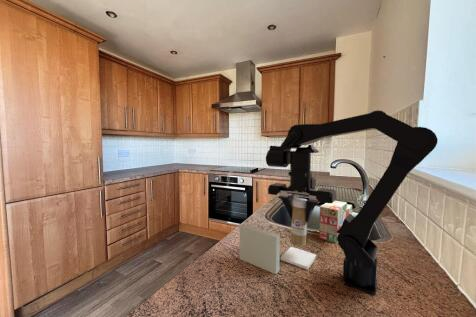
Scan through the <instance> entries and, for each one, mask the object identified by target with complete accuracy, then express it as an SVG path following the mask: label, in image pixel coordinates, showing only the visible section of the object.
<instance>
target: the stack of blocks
mask: <svg viewBox="0 0 476 317" xmlns="http://www.w3.org/2000/svg"><path fill="white" fill-rule="evenodd" d="M349 214H351V215H353V205H352V204H348V202H346V201H341V200H335V201H334V202H333V203H324V204H321V205H320V206H319V230H318V231H319V232H318V238H319V239H320V240H325V241H328V242H330V243H334V244H338V241H337V237H338V234H339V233H337V232H336V231H337V230H338V229H339V228H340V227H341V226H342V224H343V221H344V219H345V218H346V217H347V216H348V215H349Z"/></svg>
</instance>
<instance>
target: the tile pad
mask: <svg viewBox="0 0 476 317" xmlns="http://www.w3.org/2000/svg"><path fill="white" fill-rule="evenodd" d="M315 259H317V254H315V253H312V252H310V251H306V250H303V249H299V248H297V247H295V246H290V247H289V248H288V249H287V250H286V251H285V252H284V253H283V254H282V255H281V256H280V261H283V262H286V263H288V264H289V265H290V264H291V265H294V266H296V267H299V268H301V269H304V270H307V271H308V270H309V268H310V267H311V266H312V264H313V262H314V261H315Z"/></svg>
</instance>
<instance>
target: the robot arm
mask: <svg viewBox="0 0 476 317" xmlns="http://www.w3.org/2000/svg"><path fill="white" fill-rule="evenodd" d="M371 130H376V131H378V132H380V133H381V134H384V135H385V136H387V137H389V138H391V139H392V140H393V141H395V142H397V143H396V144H395V147H394V150H393V153H392V155H391V159H390V162H389V165H388V166H387V168H386V169H385V170H384V173H383V174H382V176H381V177H380V179H379V181H378V182H377V183H376V185H375V187H374V189H373V190H372V192H371V193H370V194H369V196H368V198H367V199H366V201H365V203H364V204H363V206H361V208H360V210H359V211H358V213H357V214H356V215H355V216H354V215H353V214H352V215H351V214H349V215H348V216H347V217H346V218H345V219H344V221H343V224H342V226H341V227H340V228H339V229H338V230H337V231H336V232H337V233H339V234H338V237H337V241H338V243H337V244H338V246H339V248H340V249H341V250H342V251H343V254H344V256H345V257H344V258H343V262H342V264H343V268H342V276H343V278H344V280H343V283H344V284H345V285H346V286H350V287H353V288H355V289H358V290H361V291H364V292H367V293H369V294H372V295H377V288H378V287H377V286H378V278H377V274H378V273H377V272H378V259H377V258H376V256H377V253H378V249H379V247H378V246H377V244H375V242H374V241H373V240H372V239H371V238H370V235H371V232H372V229H373V227H374V225H375V223H376V221H377V219H378V218H379V217H380V215H381V214H382V212H383V211H384V209H385V208H386V206H387V205H388V203H390V200H391V199H392V197H394V195H395V193H396V192H397V190H398V188H399V187H400V186H401V185H402V183H403V182H404V180H405V178H406V177H407V176H408V175H409V173H410V172H411V171H413V169H415V167H416V166H418V165H419V164H420V163H421V162H422V161H423V160H424V159H426V157H427V156H429V155H430V154H431V152H432V151H433V150H434V149H435V148H436V147H437V145H438V137H437V135H436V133H435V132H434V131H433V130H431V129H430V128H427V127H424V126H411V125H410V124H408V123H405V122H403V121H402V120H399V119H397V118H396V117H393V116H391V115H388V114H387V113H386V112H385V111H383V110H373V111H371V112H369V113H363V114H359V115H356V116H351V117H345V118H342V119H337V120H333V121H328V122H324V123H316V124H315V123H308V124H307V123H305V124H304V123H303V124H301V123H300V124H294V125H292V126H291V127H290V128H289V129H288V131H287V135H286V137H285V139H284V140H283V142H281V144H280V145H279V146H278V145H269V150H268V151H267V152H266V156H265V162H266V165H267V166H268V167H275V168H288V166H290V167H289V171H288V176H289V185H288V186H287V184H286V183H278V182H275V183H273V184H270V185H268V187H267V194H268V195H273V196H277V195H278V194H279V195H278V199H279V200H281V202H282V203H283V205H284V207H285V210H286V211H287V213H288V216H289V218H290V220H292V211H293V205H292V201H293V199H294V198H295V196H305V197H308V199H306V200H307V201H306V223H307V224H308V223H309V221H310V219H311V216H312V214H313V211H314V209H315V207H316V205H318V204H320V203H324V204H325V203H333V202H334V201H337V191H336V190H335V189H334V188H326V187H321V188H319V189H317V190H316V184H317V180H316V178H314V177H313V176H312V175H313V173H312V171H311V170H312V169H311V168H312V167H311V162H312V159H311V156H312V154H317V153H319V150H318V149H317V148H316V147H315V146H314V145H313V144H315V143H317V142H319V141H321V140H324V139H327V138H333V137H337V136H343V135H348V134H349V135H350V134H355V133H360V132H366V131H371ZM302 146H303V147H302ZM304 146H305V147H304ZM292 149H295V150H292Z"/></svg>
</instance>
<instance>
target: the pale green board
mask: <svg viewBox="0 0 476 317" xmlns="http://www.w3.org/2000/svg"><path fill="white" fill-rule="evenodd" d="M280 238H281V234H279V233H275V232H272V231H269V230H265V229H262V228H258V227H255V226H252V225H248V224H245V223H243V224H240V225H239V259H240V260H241V261H243V262H246V263H248V264H250V265H254V266H255V267H257V268H260V269H263V270H265V271H267V272H269V273H271V274H274V275H277V274H278V273H279V272H280V261H281V256H280V255H281V254H280V252H281V251H280V250H281V249H280V247H281V246H280V244H281V239H280Z"/></svg>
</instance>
